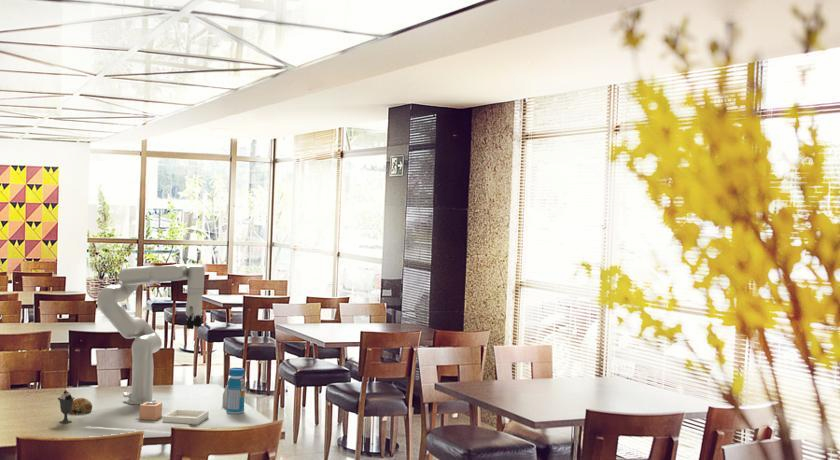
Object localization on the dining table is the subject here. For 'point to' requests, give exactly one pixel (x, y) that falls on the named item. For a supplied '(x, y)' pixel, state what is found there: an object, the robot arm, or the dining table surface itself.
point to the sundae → (66, 405)
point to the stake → (149, 420)
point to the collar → (150, 411)
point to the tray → (186, 416)
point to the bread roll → (81, 406)
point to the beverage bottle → (235, 391)
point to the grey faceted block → (225, 397)
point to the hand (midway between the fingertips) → (193, 327)
